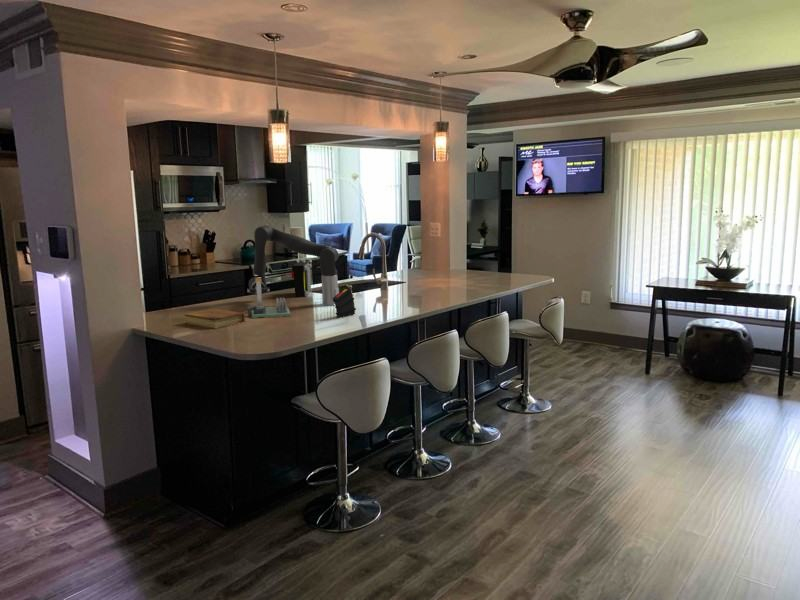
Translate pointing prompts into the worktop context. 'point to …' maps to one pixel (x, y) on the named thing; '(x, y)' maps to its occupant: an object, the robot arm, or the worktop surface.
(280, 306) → the heatsink
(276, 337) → the worktop surface
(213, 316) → the diary
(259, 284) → the clip lever
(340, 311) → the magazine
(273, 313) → the board
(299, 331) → the worktop surface
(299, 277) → the electrical component
